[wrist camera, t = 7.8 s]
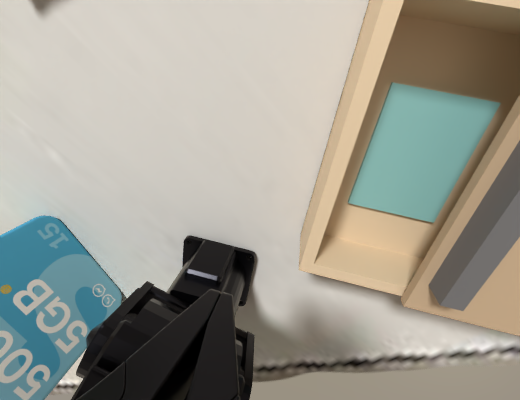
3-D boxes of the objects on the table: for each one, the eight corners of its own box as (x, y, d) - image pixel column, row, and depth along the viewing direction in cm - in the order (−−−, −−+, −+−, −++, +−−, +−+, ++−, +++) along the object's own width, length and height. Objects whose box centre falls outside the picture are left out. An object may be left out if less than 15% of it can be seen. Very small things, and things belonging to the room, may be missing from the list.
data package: (128, 298, 29) (20, 430, 18) (101, 307, 30) (-14, 433, 19) (52, 208, 25) (-141, 307, 14) (25, 223, 26) (-168, 323, 16)
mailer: (463, 273, 20) (501, 321, 16) (300, 233, 21) (298, 270, 17) (627, 37, 13) (766, 19, 9) (371, -6, 14) (395, -39, 10)
